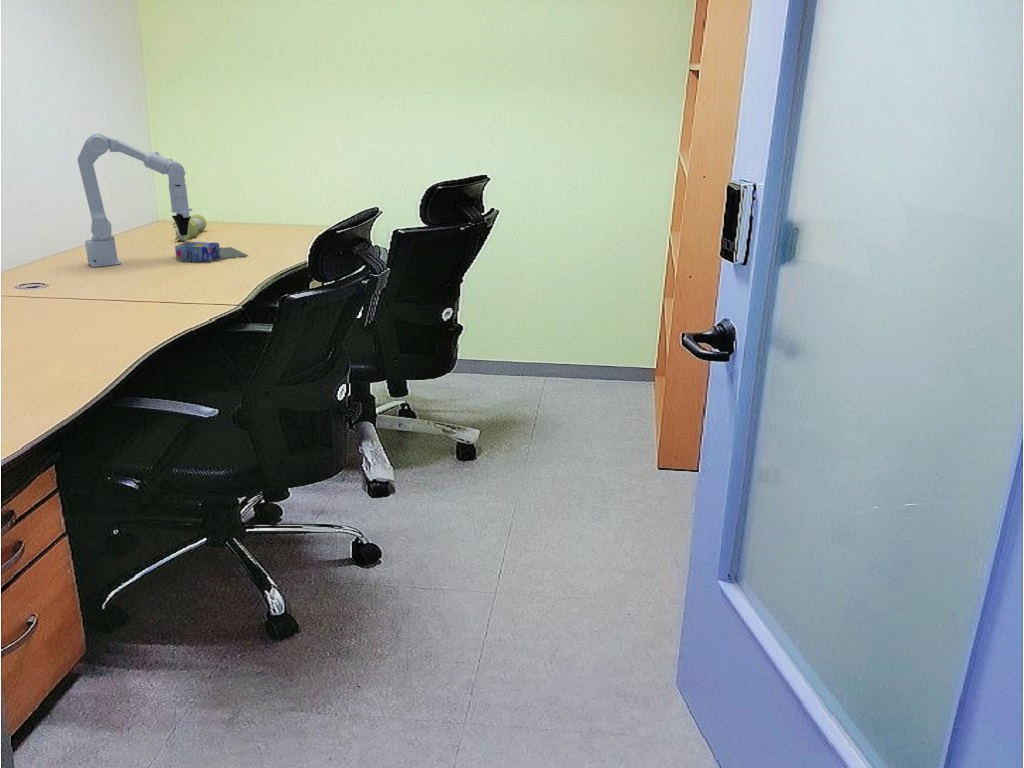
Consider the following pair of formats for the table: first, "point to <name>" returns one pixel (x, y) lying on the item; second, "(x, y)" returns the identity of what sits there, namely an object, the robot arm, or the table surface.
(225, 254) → the desk mat
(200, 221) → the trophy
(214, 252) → the ink cartridge box
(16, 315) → the table surface
